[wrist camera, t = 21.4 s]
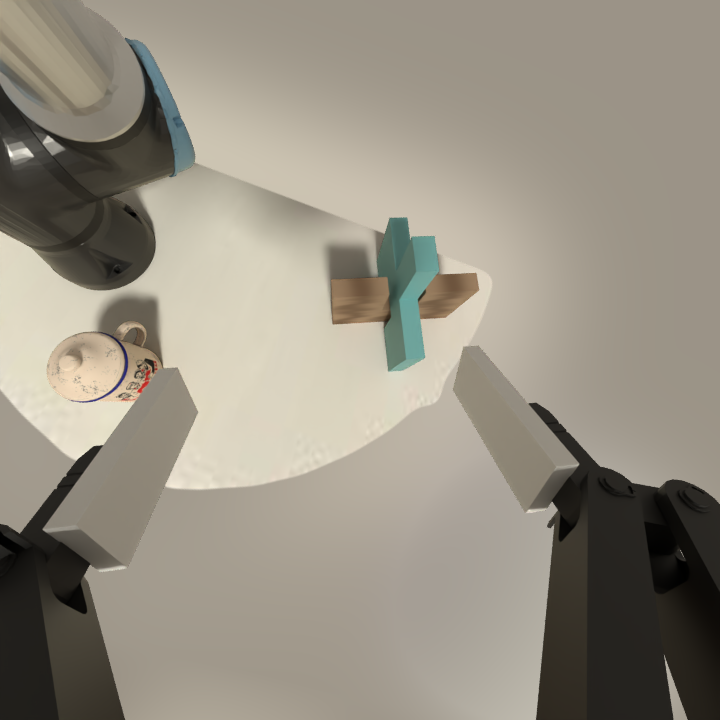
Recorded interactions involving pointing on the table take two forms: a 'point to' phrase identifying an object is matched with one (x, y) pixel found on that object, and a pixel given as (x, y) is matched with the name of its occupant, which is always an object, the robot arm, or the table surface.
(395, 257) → the teal slotted plate
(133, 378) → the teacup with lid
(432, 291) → the walnut slotted plate
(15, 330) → the table surface
